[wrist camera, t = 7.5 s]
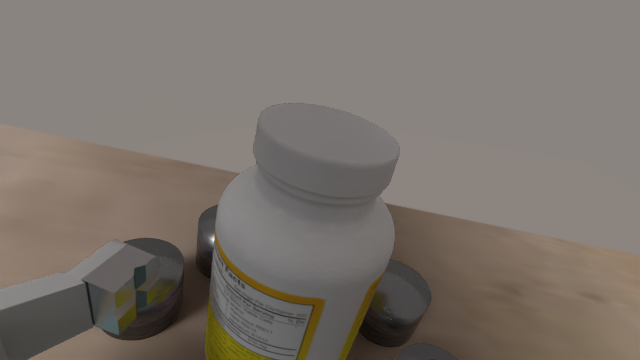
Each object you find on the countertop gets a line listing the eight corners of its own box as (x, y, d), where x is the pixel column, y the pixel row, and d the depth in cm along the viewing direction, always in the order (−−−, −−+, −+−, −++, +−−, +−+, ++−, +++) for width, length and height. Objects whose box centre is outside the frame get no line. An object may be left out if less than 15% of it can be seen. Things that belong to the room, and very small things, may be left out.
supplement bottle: (307, 297, 21) (368, 100, 15) (357, 407, 16) (479, 181, 10) (194, 318, 18) (211, 83, 12) (212, 462, 13) (257, 186, 7)
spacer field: (76, 321, 16) (68, 278, 15) (206, 205, 26) (208, 173, 25) (459, 488, 14) (493, 456, 13) (443, 293, 24) (461, 262, 23)
